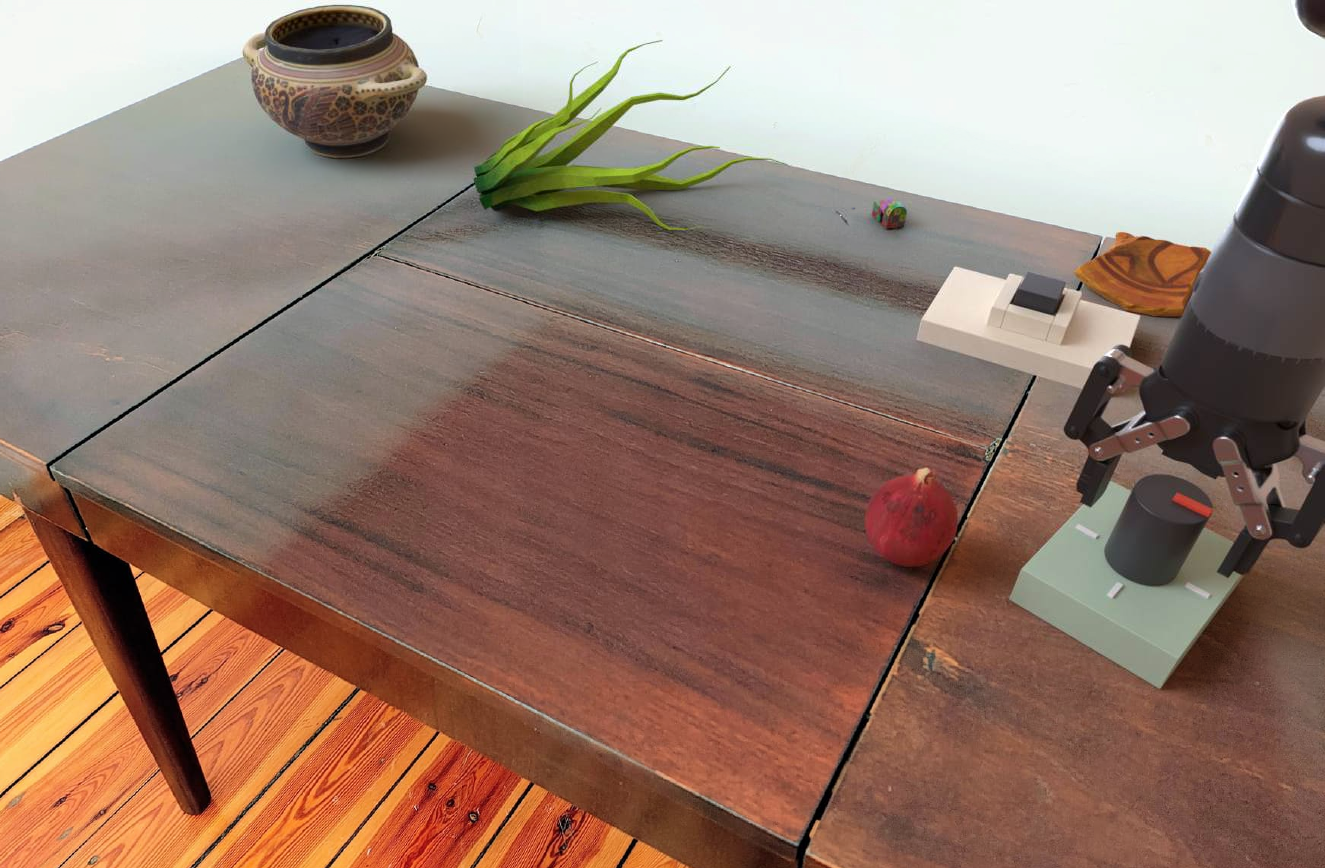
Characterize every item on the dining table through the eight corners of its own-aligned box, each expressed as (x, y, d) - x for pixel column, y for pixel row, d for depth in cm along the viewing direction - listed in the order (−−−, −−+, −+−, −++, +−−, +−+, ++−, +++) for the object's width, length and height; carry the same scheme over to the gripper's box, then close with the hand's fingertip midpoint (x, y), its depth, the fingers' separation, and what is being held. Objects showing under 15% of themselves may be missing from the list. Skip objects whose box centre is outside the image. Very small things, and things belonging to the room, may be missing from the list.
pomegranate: (937, 601, 67) (967, 514, 62) (849, 578, 69) (871, 491, 63) (947, 541, 71) (976, 454, 66) (864, 520, 73) (885, 434, 67)
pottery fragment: (1218, 247, 94) (1202, 278, 87) (1198, 294, 97) (1181, 328, 90) (1104, 219, 99) (1080, 247, 92) (1088, 265, 101) (1063, 295, 94)
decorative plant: (756, 265, 98) (774, 115, 88) (466, 220, 104) (452, 75, 94) (785, 181, 111) (805, 41, 101) (525, 145, 117) (519, 10, 107)
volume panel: (1093, 509, 73) (1108, 477, 71) (1237, 584, 68) (1258, 551, 66) (1008, 599, 67) (1022, 566, 65) (1159, 689, 62) (1180, 657, 60)
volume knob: (1092, 561, 66) (1123, 495, 62) (1121, 525, 68) (1153, 459, 64) (1161, 597, 63) (1198, 531, 59) (1188, 559, 66) (1226, 493, 62)
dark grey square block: (1021, 289, 88) (1027, 271, 87) (1060, 299, 87) (1066, 281, 86) (1012, 306, 86) (1018, 288, 85) (1051, 317, 85) (1058, 299, 84)
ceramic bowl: (238, 155, 122) (178, 38, 109) (341, 72, 129) (295, -46, 116) (385, 217, 111) (335, 95, 99) (488, 123, 118) (454, -2, 106)
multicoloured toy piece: (912, 225, 103) (917, 204, 102) (886, 229, 103) (890, 207, 101) (893, 206, 106) (897, 185, 105) (867, 209, 106) (871, 188, 104)
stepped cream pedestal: (949, 286, 95) (959, 248, 92) (1132, 336, 89) (1148, 297, 86) (915, 340, 89) (926, 300, 86) (1110, 398, 83) (1127, 357, 80)
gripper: (1450, 337, 51) (1300, 561, 62) (1165, 236, 59) (1076, 451, 70) (1404, 404, 47) (1252, 629, 58) (1105, 286, 55) (1020, 505, 66)
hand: (1156, 532), depth 64 cm, fingers open, 8 cm apart
